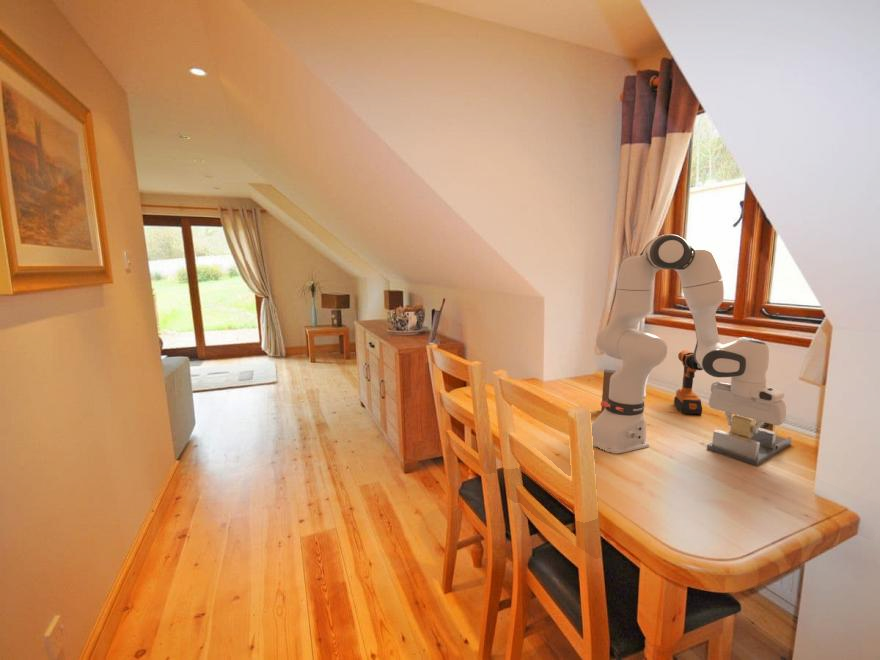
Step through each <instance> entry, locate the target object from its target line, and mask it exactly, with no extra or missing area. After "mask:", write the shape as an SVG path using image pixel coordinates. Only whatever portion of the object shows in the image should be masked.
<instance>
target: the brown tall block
mask: <svg viewBox="0 0 880 660" xmlns="http://www.w3.org/2000/svg"><path fill="white" fill-rule="evenodd" d="M615 372H617V370H613V369H604V371H603V382H602V395H601V397H602V398H601V402H602V401H605V402H606V400H607V398H608V396H609V386H610V377H611V376H612V375H613V374H614V373H615ZM604 409H605V407H602V406H601V413H602V412H603V410H604ZM601 413H600V414H601Z"/></svg>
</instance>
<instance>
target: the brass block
mask: <svg viewBox="0 0 880 660" xmlns="http://www.w3.org/2000/svg"><path fill="white" fill-rule="evenodd" d="M755 425H756V420H754V419H751V418H747V417H743V416H739V415H736V414H734V415H733V416H732V426H730V429H731V434H734V435H737V436H740V437H744V438H747V439H750V438H751V437H753V436H754V433H753V432H751V427H752V426H755Z"/></svg>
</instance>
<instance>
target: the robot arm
mask: <svg viewBox="0 0 880 660" xmlns="http://www.w3.org/2000/svg"><path fill="white" fill-rule="evenodd" d="M659 270H674V271H675V272H676V273H677V275H678V276H679V279H680V285H681V290H682V293H683V297H684V300H685V303H686V305H687V307H688V309H689V311H690V313H691V316H692V318H693V324H694V330H695V336H696V344H695V347H694V351H693V353H694V359H695V361H696V363H697V364H698V365H699V366H700V367H702V369H703V371H704V372H705V373H706V374H707V375H709V376H711V377H714V378H731V379H730V383H724V382H720V381H716V382H713V383H712V384H711V386H710V396H709V400H708V406H709V408H711V409H714V410H717V411H721V412H724V415H725V417H726V419H727V425H728V426H729V427H731V426H732V418H733V416H732V415H739V416H743V417H747V418H751V419H754V420H756V422H755V425H756V423H758V424H757V425H756V426H752V427H751V432H753V433H758V430H759V427H760V426H761V425H762V424H763V423H764V422H766V423H769V424H773V425H775V426H780V425H783V424H784V423H785V422H786V418H787V405H786V404H785V402H784V400H783V399H784V397H785V393H784V391H782V390H779V389H777V388H775V387H773V386H771V385H769V384H767V378H766V374H767V371H768V369H769V362H770V351H769V349H770V348H769V346H768V344H767V343H765V342H764V341H762V340H760V339H757V338H753V337H747V336H742V337H741V336H740V337H738V338H737V339H736V340H735V339H734V341H730V342H727V343H725V344H723V343H722V341H721V340H720V337H719V331H718V327H717V320H716V319H717V318H716V313H717V310H718V309H719V308H720V306H721V304H723V302H724V297H725V296H724V295H725V294H724V293H725V290H724V283H723V282H724V281H723V278H722V273H721V269H720V265H719V263H718V261H717V258H716V257H715V255H714V253H713V251H712V250H710V249H707V248H694V247H692V245H690V243H688V241H687V240H686V239H685V238H683V237H681V236H680V235H677V234H673V233H670V234H662V235H658V236H656V237H654V238H653V239H651V240H650V241H648V243H646V245H645V246H644V248H643V250H642V251H641V252H640V254H639V255H633V256H628V257H626V258H625V259H624V260H623V261H622V262H621V264H620V267H619V269H618V275H617V281H616V289H615V290H616V291H615V301H614V310H613V313H612V315H611V319H610V321H609V322H608V324H607V325H606V326H605V327H604V328H602V329H601V330H600V332H599V333H598V335H597V338H596V347H597V348H598V350H599V351H600V352H601V353H604V354H605V355H607V356H609V357H610V358H614V359H616V360H617V359H618V360H621V361H622V365H621V368H620V370H618V371H616V372H615V373H614V374H613V375H612V376H611V377H610V386H609V396H608V398H607V400H606V402H605V401H602V400H601V402H600V406H601V408H602V407H605V409H604V410H603V412H602V413H600V414H599V415H598V416H597V418H596V419H595V420H594V421H593V422H592V424H591V426H592V436H593V446H592V447H593V448H596V447H595V446H597V447H599V448H600V449H599V450H601V449H603V450H602V451H604V450H605V452H607V453H610V452H611V454H616V455H617V454H618V453H619V454H623V453H627V452H631V451H636V450H640V449H641V450H642V449H644V448H645V449H646V448H648V447H650V443H649V441H647V421H646V419H645V417H644V414H643V413H644V411H645V401H644V397H643V396H644V388H645V382H646V378H647V376H648V374H649V375H650V372H651V371H652V370H653V369H654V368H655V367H657V366H659V365H660V364H662V363H663V362H664V360H665V359H666V358H667V354H668V346H667V343H666V341H665V339H664V338H661V337H659V336H657V335H655V334H653V333H650V332H646V331H645V332H644V331H640V330H637V328H638V324H639V323H640V321H641V320H642V319H645V318H646V317H647V316H649V314H650V313H651V310H652V300H653V288H654V287H653V285H654V283H653V282H654V279H655V276H656V273H658V272H659Z"/></svg>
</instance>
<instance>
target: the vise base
mask: <svg viewBox="0 0 880 660" xmlns="http://www.w3.org/2000/svg"><path fill="white" fill-rule="evenodd" d="M712 432H713V434H712V442H710V443H708V444H707V446H706V450H708V451H711V452H715V453H717V454H720V455H723V456H726V457H729V458H731V459H734V460H737V461H740V462H742V463H746V464H748V465H751V466H754V467H758V466H760V465H761V464H763V463H764V462H765V461H767V460H769V459H770V458H772V457H773V456H775V455H776V454H778V453H779V452H781V451H782V450H784V449H786V448H787V447H788V446H790V445H791V443H792V437H791V436H789V437H788V436H787V438H785V437H781V436H777V435H776V439H775V446H774V447H773V448H772V449H771V448H768V447H764V446H761V445H760V442H757V441H753V440H750V439H747V438H744V437H740V436H737V435H734V434H730V430H729V431H728V432H727V431H722V430H720V429H715V430H714V431H712Z"/></svg>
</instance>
